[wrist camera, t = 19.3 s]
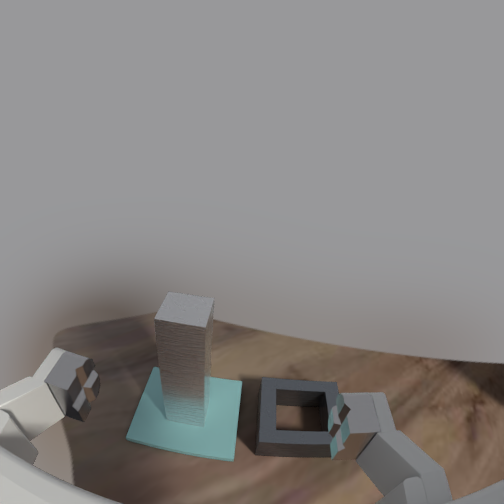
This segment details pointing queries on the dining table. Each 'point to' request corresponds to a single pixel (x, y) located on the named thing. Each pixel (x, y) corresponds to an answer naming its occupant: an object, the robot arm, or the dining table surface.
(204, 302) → the steel peg
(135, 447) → the dining table surface
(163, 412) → the teal pad
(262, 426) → the socket block
